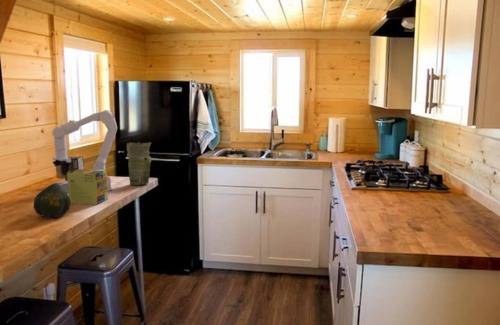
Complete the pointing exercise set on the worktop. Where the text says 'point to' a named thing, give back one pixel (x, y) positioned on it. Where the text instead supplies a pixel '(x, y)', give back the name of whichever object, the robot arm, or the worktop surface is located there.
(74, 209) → the worktop surface
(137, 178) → the pouch
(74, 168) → the coffee box
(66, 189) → the base block
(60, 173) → the walnut block
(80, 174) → the protein box
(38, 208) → the squash
